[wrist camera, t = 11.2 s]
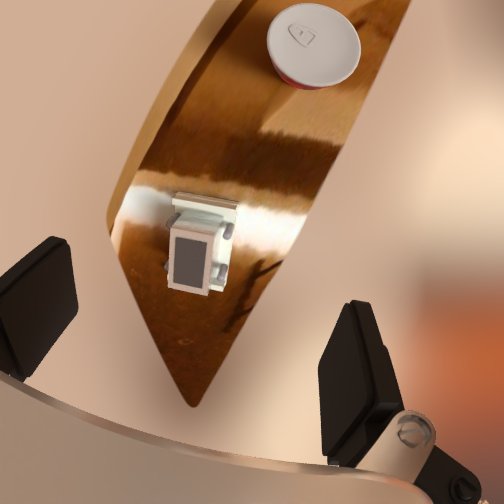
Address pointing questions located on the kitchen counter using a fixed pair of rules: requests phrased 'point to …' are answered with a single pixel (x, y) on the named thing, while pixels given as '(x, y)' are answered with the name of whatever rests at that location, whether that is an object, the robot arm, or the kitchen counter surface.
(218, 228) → the box
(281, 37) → the canned food
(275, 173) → the kitchen counter surface
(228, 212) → the tray
